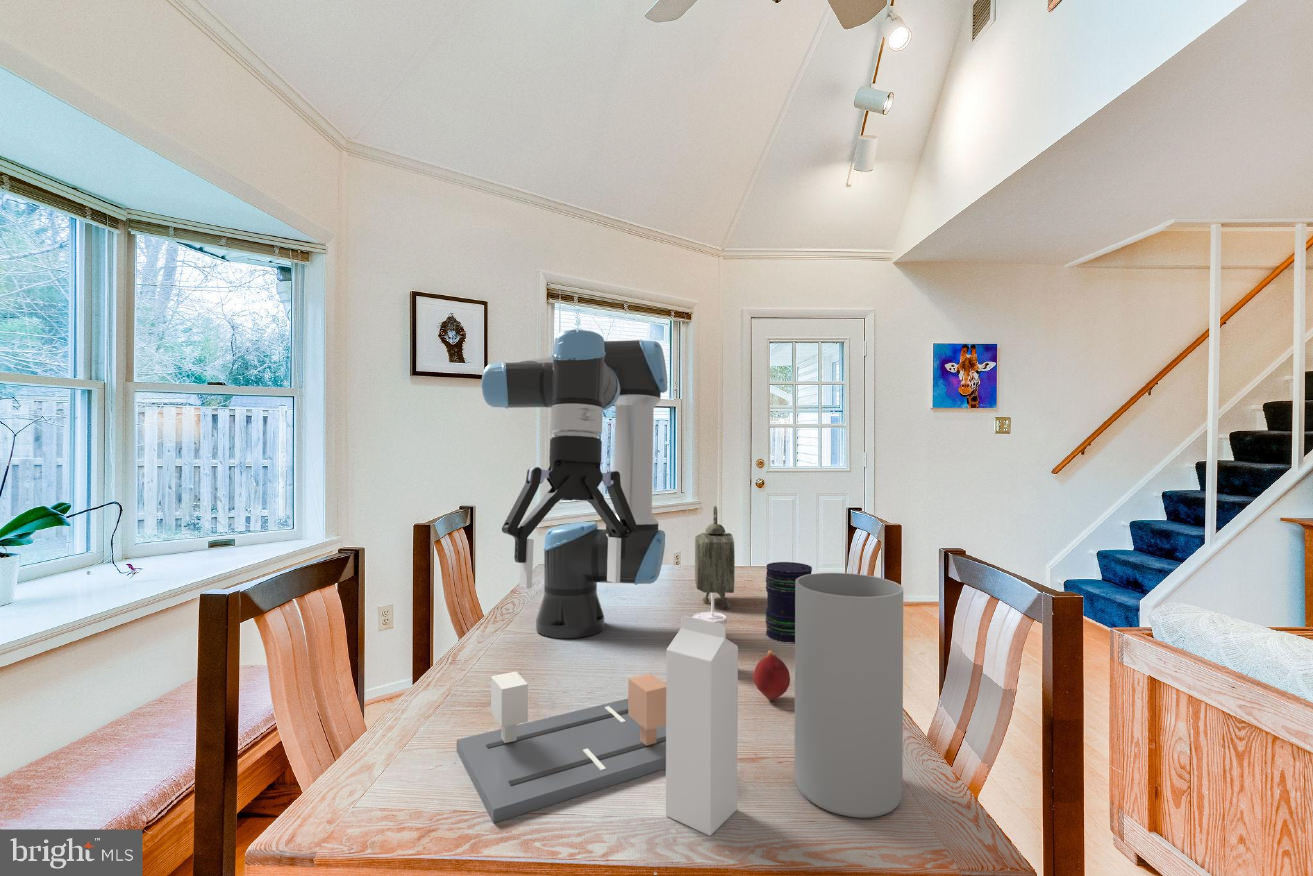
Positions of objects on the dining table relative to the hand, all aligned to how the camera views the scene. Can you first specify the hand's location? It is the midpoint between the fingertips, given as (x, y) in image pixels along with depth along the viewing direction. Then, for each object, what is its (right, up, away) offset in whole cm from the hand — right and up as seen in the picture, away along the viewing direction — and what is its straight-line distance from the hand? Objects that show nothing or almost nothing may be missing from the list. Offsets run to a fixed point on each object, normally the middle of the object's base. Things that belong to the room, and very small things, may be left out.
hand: (571, 584), depth 87 cm
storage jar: (+41, -22, +45) cm, 65 cm away
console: (+2, -22, -5) cm, 22 cm away
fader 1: (-8, -20, -5) cm, 22 cm away
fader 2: (+11, -20, -5) cm, 23 cm away
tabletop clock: (+27, -22, +70) cm, 79 cm away
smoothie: (+22, -22, +26) cm, 40 cm away
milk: (+17, -22, -18) cm, 33 cm away
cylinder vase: (+35, -22, -13) cm, 44 cm away
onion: (+31, -22, +12) cm, 40 cm away
